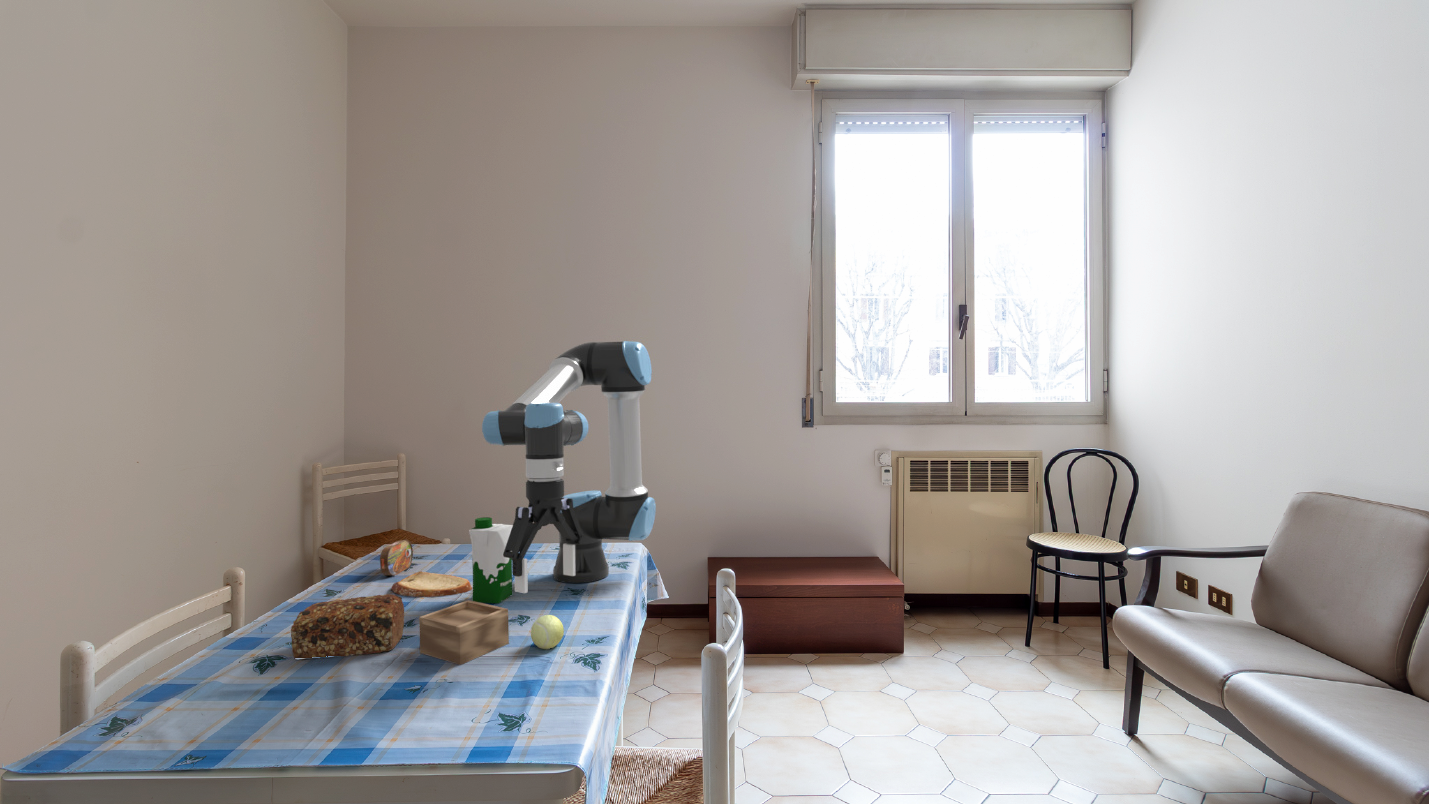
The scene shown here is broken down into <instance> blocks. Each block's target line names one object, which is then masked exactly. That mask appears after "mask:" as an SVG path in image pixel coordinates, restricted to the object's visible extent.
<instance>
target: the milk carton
mask: <svg viewBox="0 0 1429 804" xmlns="http://www.w3.org/2000/svg"><path fill="white" fill-rule="evenodd" d="M492 518H493V517H488V516H487V517H485V516H484V517H477V518H475V519H474V525H475V526H474V527H472V528H470V529H469V530H468V533H469V536H470V541H471V542H470V543H471V551H472V552H471V557H472V559H471V560H472V561H471V562H472V564H471V565H472V593H471V595H472V597H471V598H472V600H471V601H475V602H479V603H484V604H497V605H498V604H500V603H502V602H503V601H505V600H507V599H508V598H509V597H511V596H513V574H512V571H513V570H512V569H513V568H512V559H511V558H507V557H504V556H503V553H504V550H505V547H506V544H507V541H508V538H509V535H510V532H511V529H512V526H513V524H504V523H493V519H492ZM511 552H512V551H511ZM506 598H507V599H506Z"/></svg>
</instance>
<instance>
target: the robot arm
mask: <svg viewBox="0 0 1429 804" xmlns="http://www.w3.org/2000/svg"><path fill="white" fill-rule="evenodd" d="M652 372H653V371H652V362H651V359H650V355H649V352H648V350H647V347H645V345H644V344H643V343H641V342H640V341H629V340H628V341H627V340H624V341H600V342H599V341H598V342H595V341H594V342H593V341H592V342H585V343H581V344H578V345H576V346H574V347H572V348H569V349H568V350H566V351H563V353H561V354H560V355H559V356H557V357H556V358H555V359H553V360H552V362H550V365H549V366H548V370H547V371H546V372H545V373H544V374H543V375H542V376H541V377H539V379H538V380H537V381H535V382H534V384H532V385H531V386H530V387H529V388H527V390H526V391H525V392H524V393H522V395H520V396H519V397H518V398H517V399H516V400H515V401H514V402H513V403H512V404H510V406H508V407H507V408H506V409H505V410H494V411H489V412H487V413H486V414H485V415H484V417H483V420H482V424H481V431H482V435H483V439H484V440H485V441H486V442H487V443H488V444H490V445H497V446H503V447H504V446H525V478H526V479H527V480H526V482H525V497H526V499H527V500H528V506H527V507H523V506H517V507H516V508H515V516H514V517H515V518H514V521H513V524H512V525H513V526H512V529H511V532H510V535H509V538H508V541H507V544H506V547H505V550H504V553H503V556H504V557H507V558H511V559H512V577H514V592H517V593H522V594H527V593H528V592H529V590H528V589H529V588H528V587H529V585H528V584H529V583H528V581H529V580H528V559H527V558H525V556H526V554H527V552H528V551H529V549H530V547H531V544H532V543H533V541H534V539H535V538H536V535H537V534H538V532H539V530H541V529H542V527H547V526H548V525H553V526H554V527H555V529H556V530H557V531H558V537H559V538H558V540H559V543H558V544H559V550H558V552H557V553H558V554H557V555H556V560H555V565H554V566H553V572H552V573H553V574H552V575H553V576H552V577H553V579H554V580H555V581H558V582H561V583H567V584H569V583H570V584H579V583H580V584H581V583H582V584H583V583H590V582H595V581H599V580H603V579H605V578H606V577H608V576H609V575H610V574H609V572H610V571H609V564H608V562H607V560H606V555H605V552H604V548H603V546H602V545H603V540H612V541H613V540H616V541H617V540H618V541H628V542H633V541H643V540H646V539H647V538H648V537H649V536H650V534H651V532H652V530H653V528H654V527H653V526H654V523H655V518H656V513H657V512H656V510H657V507H656V505H657V504H656V499H655V498H654V497H651V496H649V491H648V490H649V489H648V488H647V487H646V486H645V485H643V472H642V469H643V467H642V441H641V440H642V439H641V414H640V413H641V410H640V409H641V406H640V405H641V404H640V398H641V396H642V395H643V393H645V391H646V390H645V389H646V385H649V384H651V381H652ZM583 386H601V389H600V390H601V394H602V395H603V396H604V397H606V399H607V400H606V401H607V427H608V447H609V449H608V451H609V454H608V455H609V478H610V479H609V481H610V483H609V484H610V486H609V487H608V488H607V490H605V491H604V496H603V494H602V492H601V490H595V489H594V490H585V491H580V492H575V493H574V492H573V493H569V494H565V480H564V479H563V477H564V476H565V474H564V473H565V471H564V450H565V449H564V447H565V446H574V445H576V444H578V443H580V442H582V441H584V440H585V438H586V437H587V436H588V433H589V422H588V419H587V417H585V415H584V414H583V413H581V412H579V411H577V410H572V409H569V410H567V409H565V410H564V407H563V405H562V404H561V403H560V402H561V401H562V400H563V399H565V397H566V396H567V395H568V394H569V393H570V392H571V393H572V392H574V391H577V390H578V389H579V388H580V387H583ZM511 551H512V552H511Z"/></svg>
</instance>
